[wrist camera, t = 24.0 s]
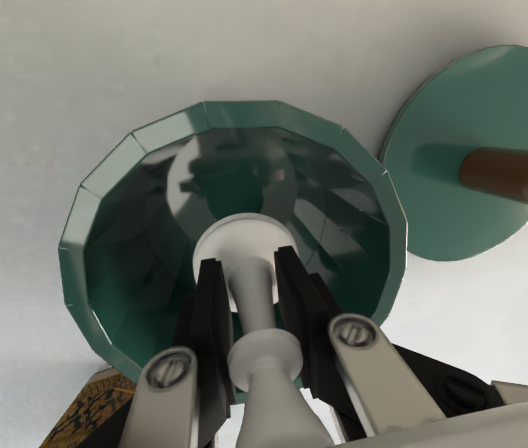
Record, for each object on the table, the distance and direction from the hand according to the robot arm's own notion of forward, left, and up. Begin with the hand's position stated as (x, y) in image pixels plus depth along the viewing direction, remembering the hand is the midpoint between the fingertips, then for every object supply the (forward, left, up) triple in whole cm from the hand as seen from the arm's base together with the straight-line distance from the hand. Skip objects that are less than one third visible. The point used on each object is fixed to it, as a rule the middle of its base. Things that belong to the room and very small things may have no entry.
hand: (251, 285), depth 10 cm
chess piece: (0, 0, -2) cm, 2 cm away
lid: (-16, -6, -8) cm, 18 cm away
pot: (0, 0, -8) cm, 8 cm away
